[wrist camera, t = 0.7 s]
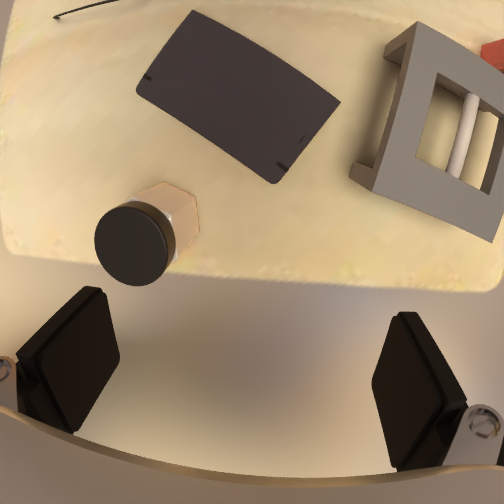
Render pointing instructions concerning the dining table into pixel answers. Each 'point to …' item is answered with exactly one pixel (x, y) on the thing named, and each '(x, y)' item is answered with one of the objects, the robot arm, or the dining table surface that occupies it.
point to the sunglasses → (85, 7)
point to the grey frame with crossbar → (448, 183)
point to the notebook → (237, 95)
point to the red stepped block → (494, 54)
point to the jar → (146, 234)
